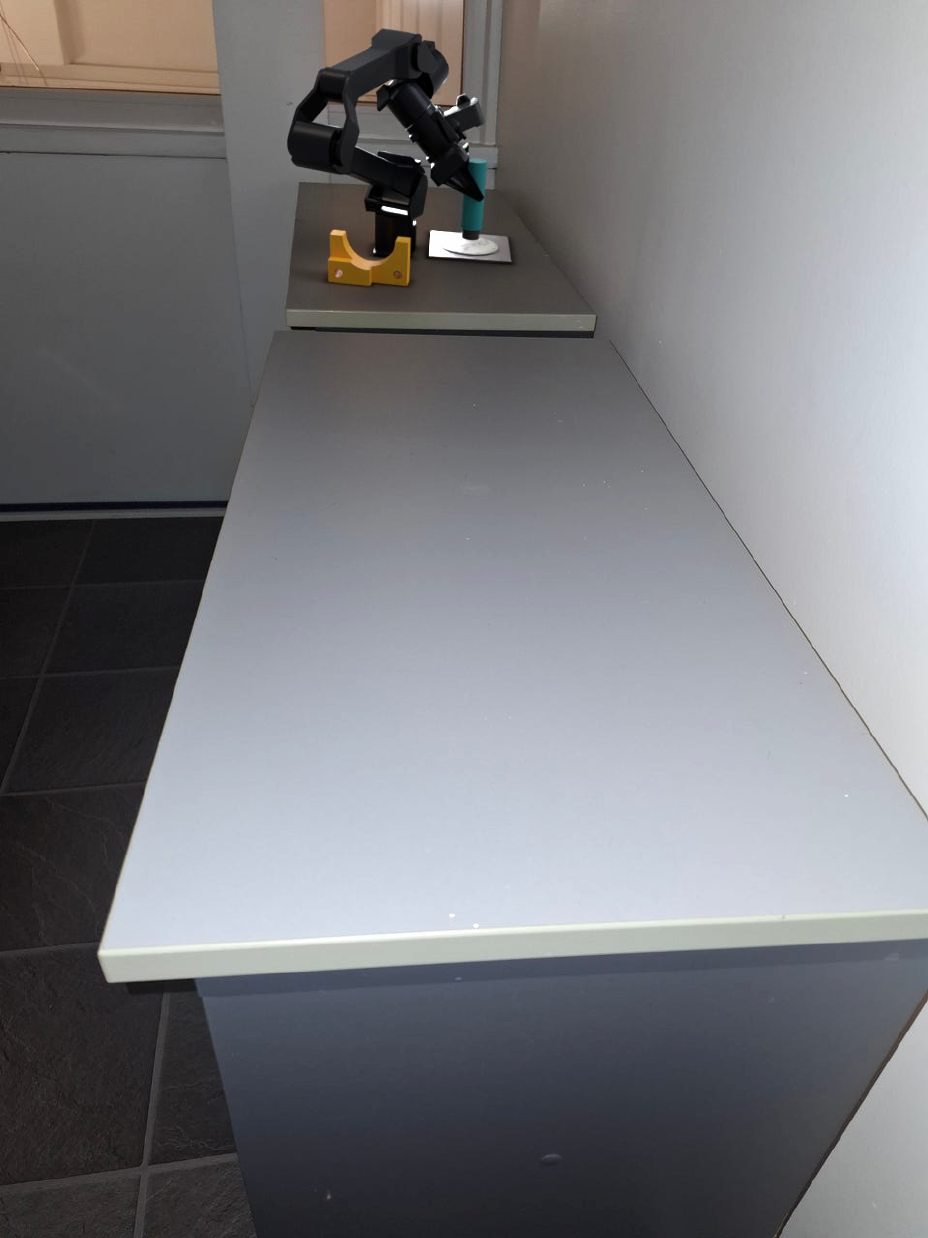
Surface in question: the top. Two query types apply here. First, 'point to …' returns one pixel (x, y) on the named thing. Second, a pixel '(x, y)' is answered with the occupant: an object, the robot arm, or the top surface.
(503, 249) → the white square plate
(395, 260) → the pipe clamp
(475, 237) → the dot marker
